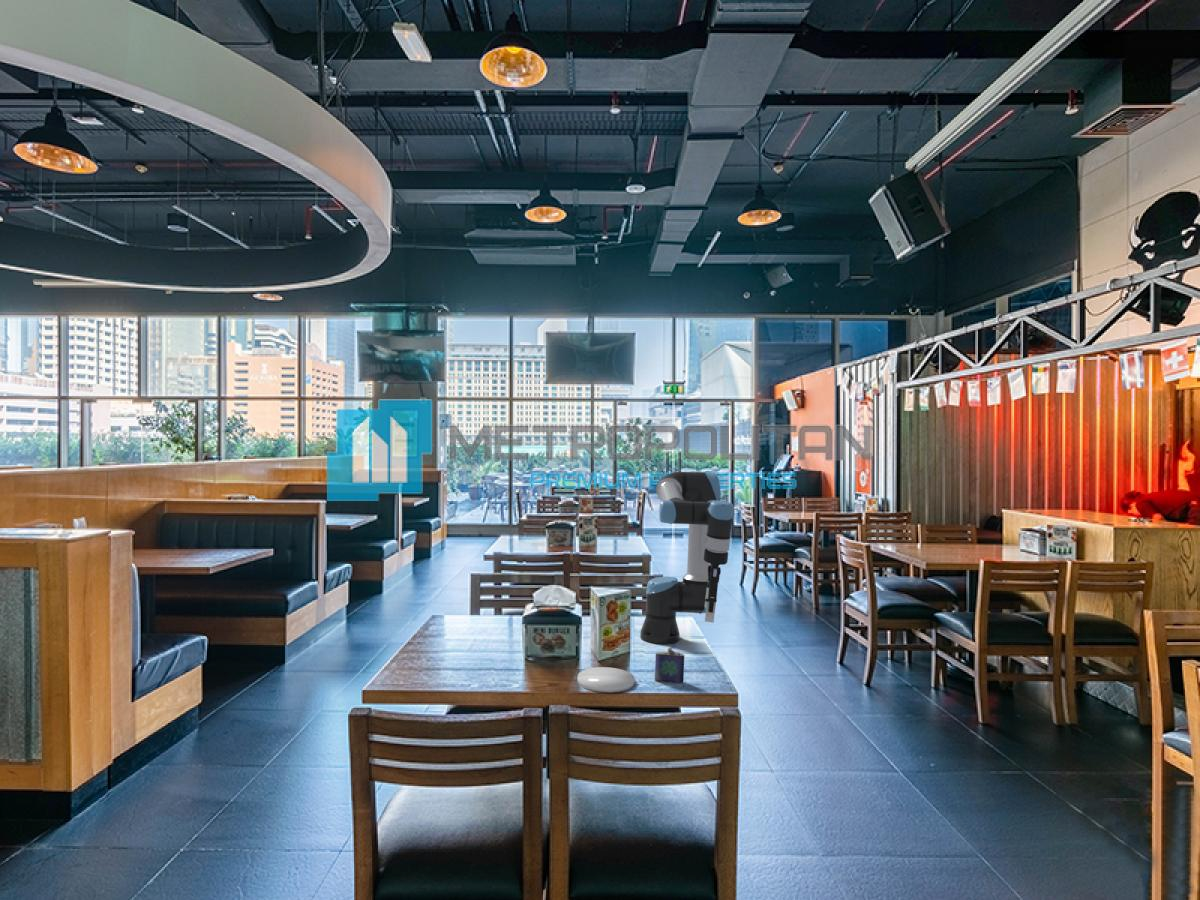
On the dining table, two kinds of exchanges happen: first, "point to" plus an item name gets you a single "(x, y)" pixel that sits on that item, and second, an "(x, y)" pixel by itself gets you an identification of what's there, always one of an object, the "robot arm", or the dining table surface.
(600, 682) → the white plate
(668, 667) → the flask
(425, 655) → the dining table surface
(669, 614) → the robot arm
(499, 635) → the dining table surface
